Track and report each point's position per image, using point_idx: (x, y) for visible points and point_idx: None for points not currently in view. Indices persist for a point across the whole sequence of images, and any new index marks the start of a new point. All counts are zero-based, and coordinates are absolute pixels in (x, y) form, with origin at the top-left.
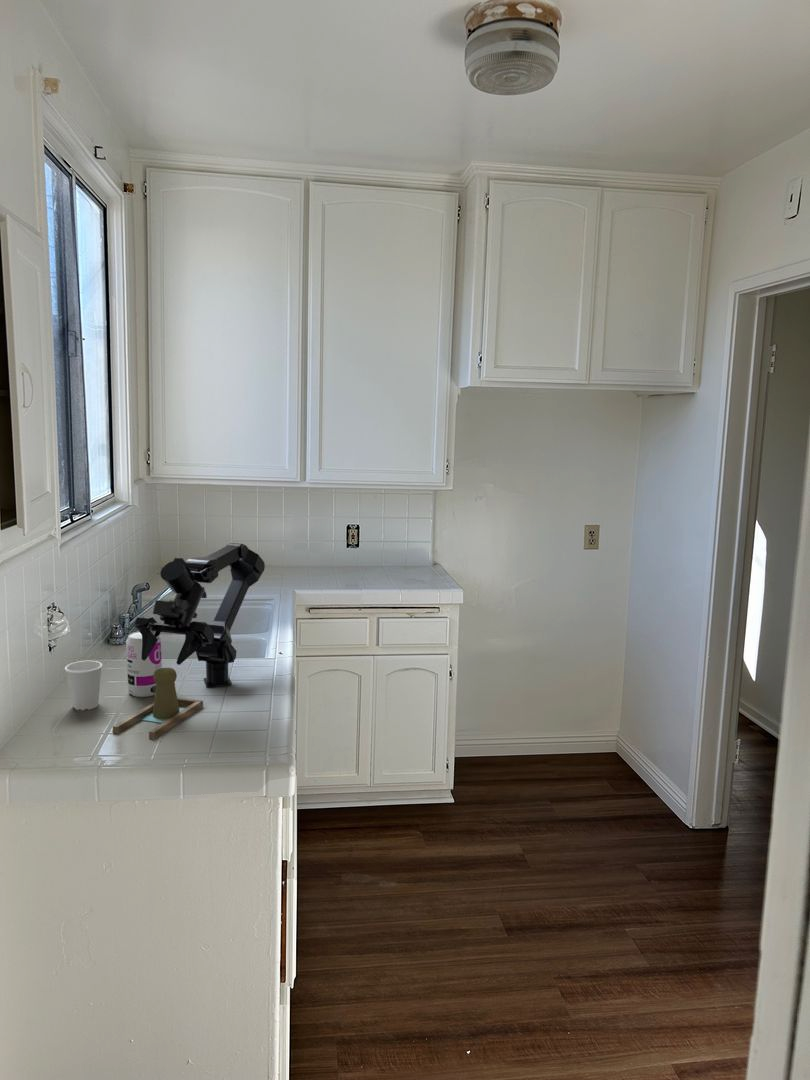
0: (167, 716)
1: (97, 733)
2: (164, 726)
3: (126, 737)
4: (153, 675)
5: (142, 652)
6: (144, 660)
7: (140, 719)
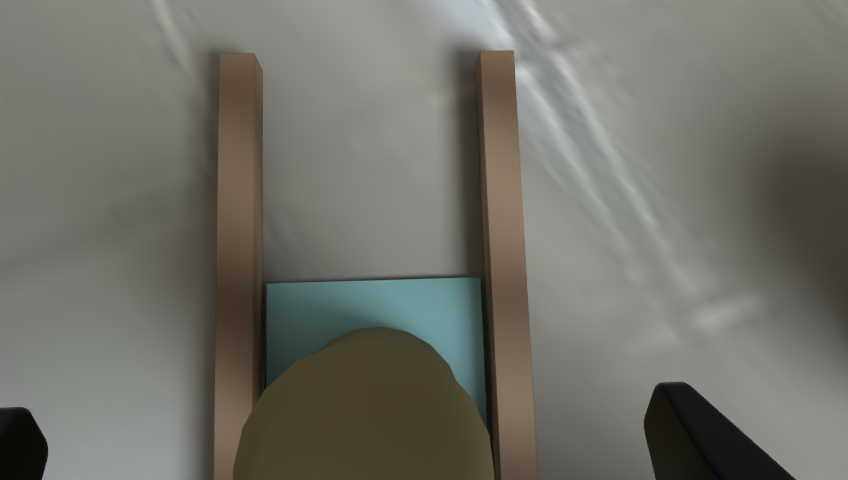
0: (321, 349)
1: (582, 34)
2: (219, 167)
3: (393, 41)
4: (465, 394)
5: (747, 449)
6: (645, 420)
7: (479, 277)
